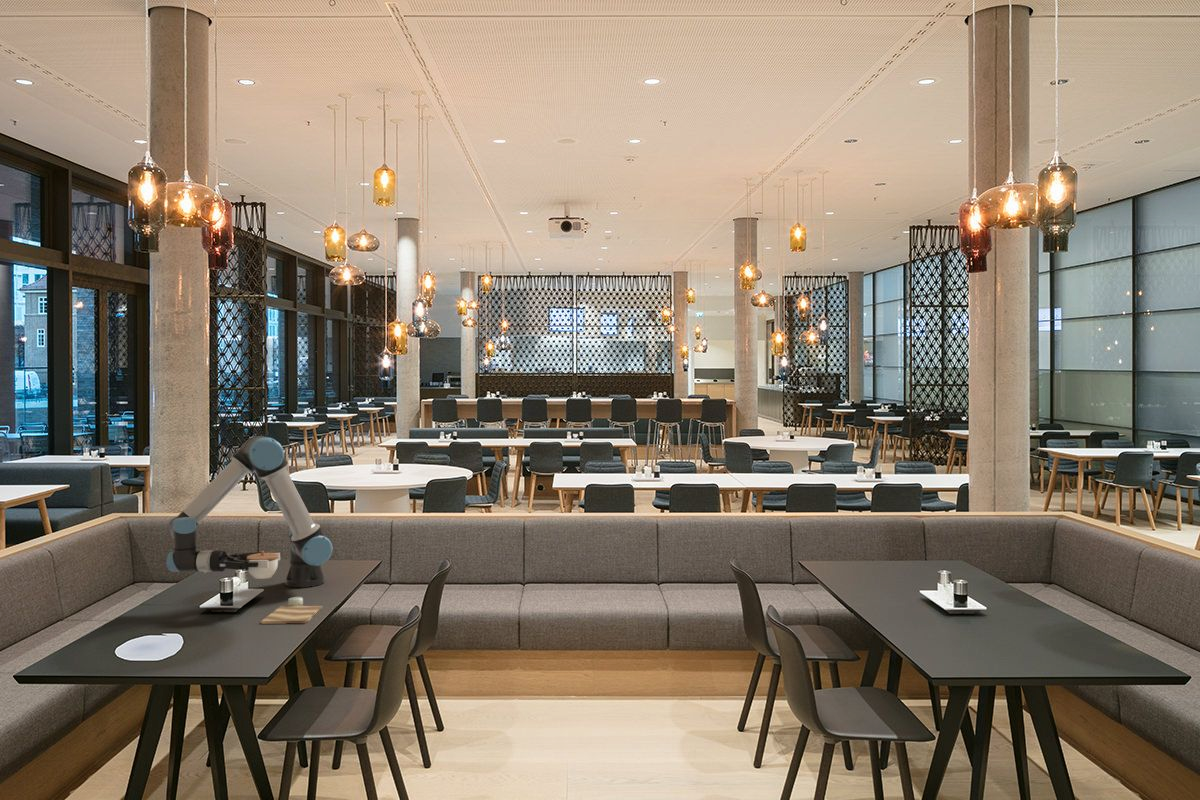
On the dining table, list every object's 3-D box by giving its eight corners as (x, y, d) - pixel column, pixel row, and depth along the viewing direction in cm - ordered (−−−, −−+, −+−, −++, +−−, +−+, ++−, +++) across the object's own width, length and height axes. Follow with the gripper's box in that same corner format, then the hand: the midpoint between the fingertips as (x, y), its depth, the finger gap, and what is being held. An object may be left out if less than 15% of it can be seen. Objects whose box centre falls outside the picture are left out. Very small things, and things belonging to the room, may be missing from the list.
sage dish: (291, 604, 319) (291, 596, 319) (305, 604, 319) (304, 596, 319) (286, 608, 314) (286, 600, 314) (300, 608, 314) (300, 600, 314)
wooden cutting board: (280, 608, 314) (280, 606, 314) (322, 608, 314) (322, 605, 314) (261, 623, 296) (261, 620, 296) (305, 623, 296) (305, 620, 296)
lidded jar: (268, 581, 308) (267, 555, 308) (240, 580, 310) (240, 554, 310) (284, 574, 319) (284, 548, 318) (258, 572, 321) (257, 547, 320)
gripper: (226, 563, 326) (285, 563, 326) (198, 579, 303) (261, 578, 303) (226, 543, 326) (285, 543, 326) (197, 558, 303) (261, 557, 303)
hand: (274, 560), depth 314 cm, fingers closed on lidded jar, 11 cm apart
